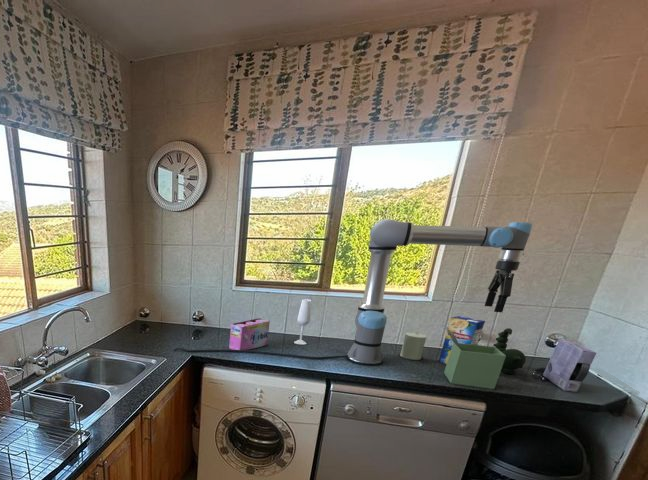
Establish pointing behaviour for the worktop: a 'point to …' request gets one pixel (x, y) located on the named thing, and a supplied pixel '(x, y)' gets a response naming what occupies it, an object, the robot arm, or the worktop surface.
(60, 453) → the worktop surface
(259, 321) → the gum box
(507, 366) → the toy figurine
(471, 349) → the green open box
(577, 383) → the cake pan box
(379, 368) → the worktop surface
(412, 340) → the can
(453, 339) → the flap
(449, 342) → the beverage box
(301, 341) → the champagne flute
